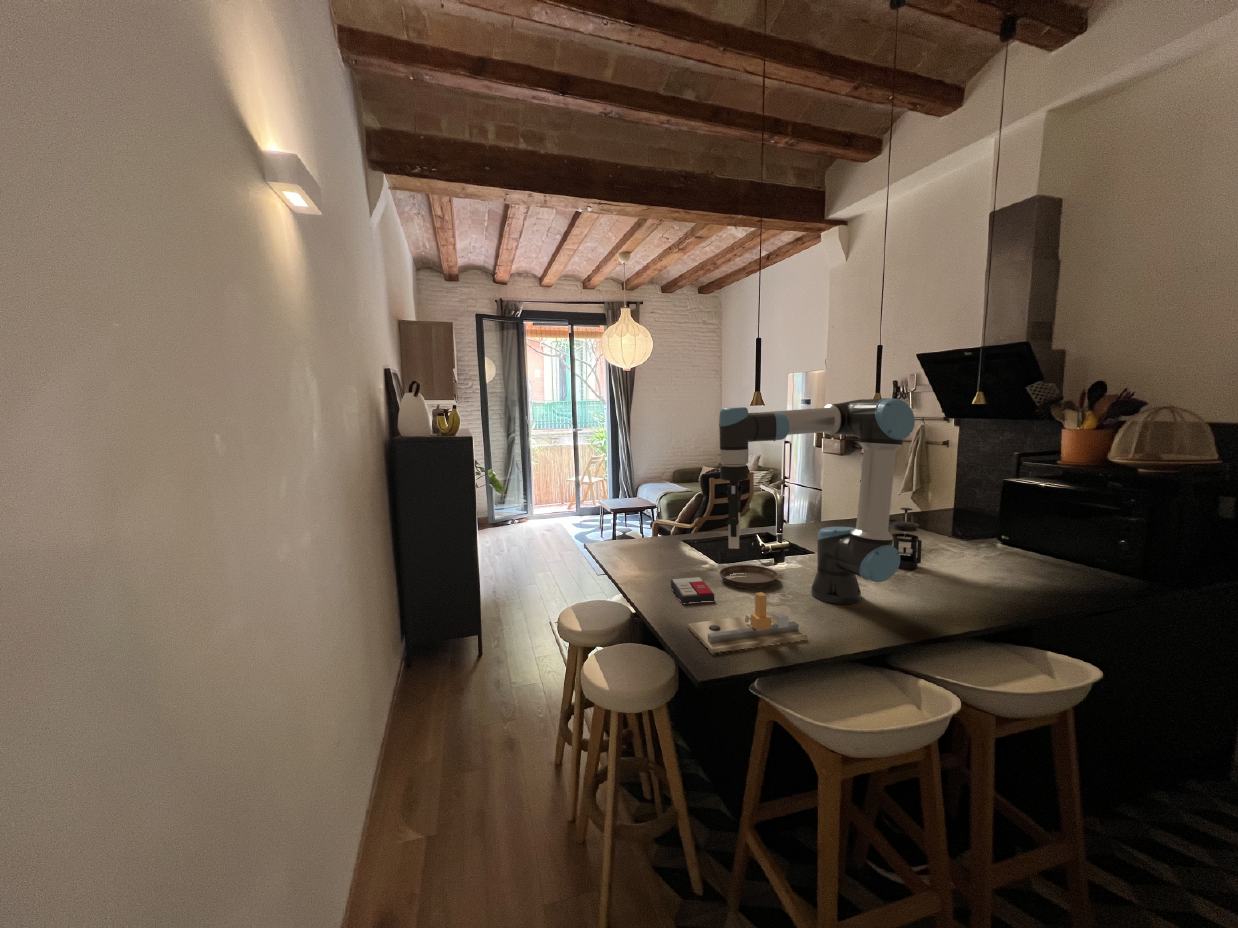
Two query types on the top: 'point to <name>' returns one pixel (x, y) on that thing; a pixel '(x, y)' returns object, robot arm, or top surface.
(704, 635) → the hole plate
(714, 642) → the rail
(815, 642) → the top surface
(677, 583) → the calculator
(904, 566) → the french press
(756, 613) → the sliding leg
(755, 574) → the plant saucer
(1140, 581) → the top surface
